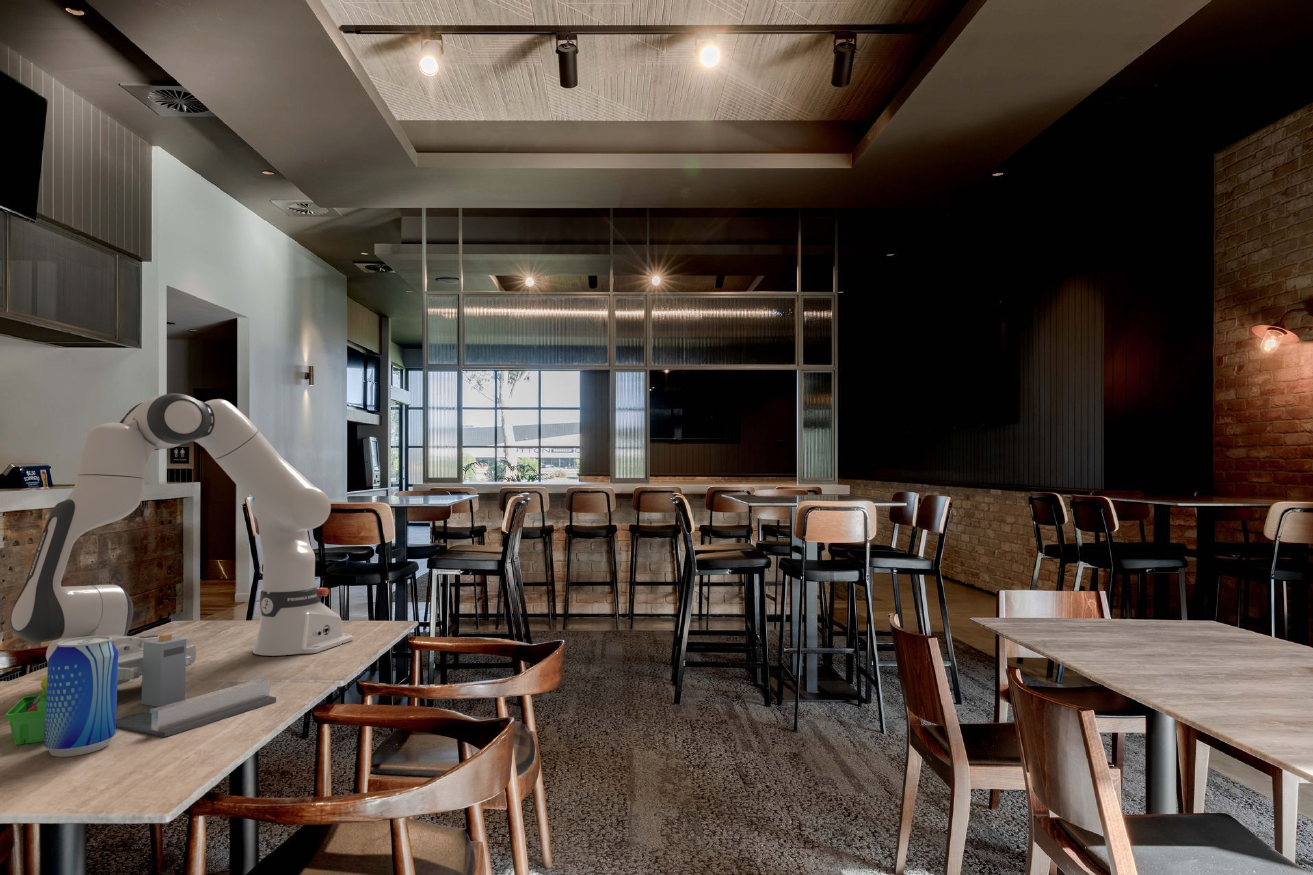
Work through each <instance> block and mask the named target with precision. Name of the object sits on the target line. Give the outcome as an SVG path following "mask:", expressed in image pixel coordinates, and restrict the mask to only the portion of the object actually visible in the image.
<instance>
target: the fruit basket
mask: <svg viewBox="0 0 1313 875" xmlns="http://www.w3.org/2000/svg"><path fill="white" fill-rule="evenodd" d="M40 687H41V689H42V690H41V691H40V693H39V694H37V693H36V694H33V695H27V696H23V697H21V699H20V700H18V702H16V703H15V704H14V705H13V706H12V708H10V709H9V710H8V711H7V712H6V713H5V714H4V715H5V717H6V721H8V723H9V727H10V730H11V733H12V736H13V740H14V743H15V746H20V745H24V744H34V743H41V742H44V741H45V718H46V695H47V675H46V676H45V677H43V679H42V680H41V682H40Z"/></svg>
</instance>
